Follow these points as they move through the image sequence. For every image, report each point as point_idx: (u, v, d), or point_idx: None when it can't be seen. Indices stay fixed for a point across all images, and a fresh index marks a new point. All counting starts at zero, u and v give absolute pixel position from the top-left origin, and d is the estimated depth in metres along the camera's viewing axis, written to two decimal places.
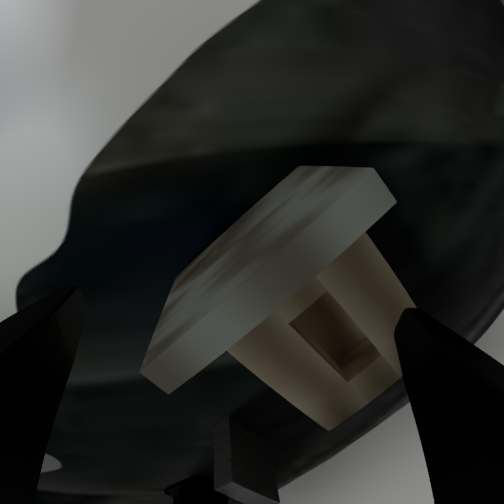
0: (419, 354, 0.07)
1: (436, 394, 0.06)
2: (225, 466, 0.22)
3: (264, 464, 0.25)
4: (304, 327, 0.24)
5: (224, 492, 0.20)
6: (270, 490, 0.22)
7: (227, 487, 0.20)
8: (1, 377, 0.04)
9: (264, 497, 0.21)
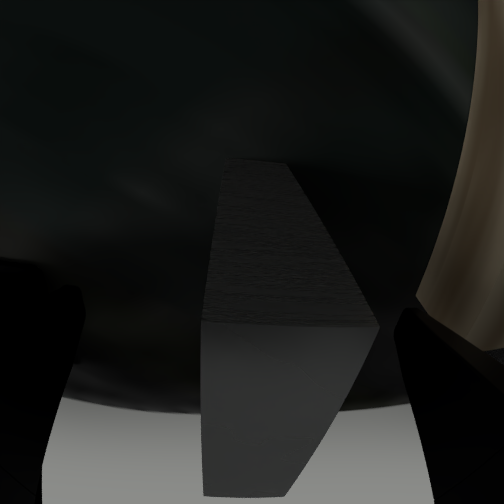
0: (419, 354, 0.07)
1: (435, 394, 0.06)
2: (299, 243, 0.05)
3: None
4: None
5: (224, 375, 0.04)
6: None
7: (294, 354, 0.04)
8: (1, 377, 0.04)
9: (295, 471, 0.05)
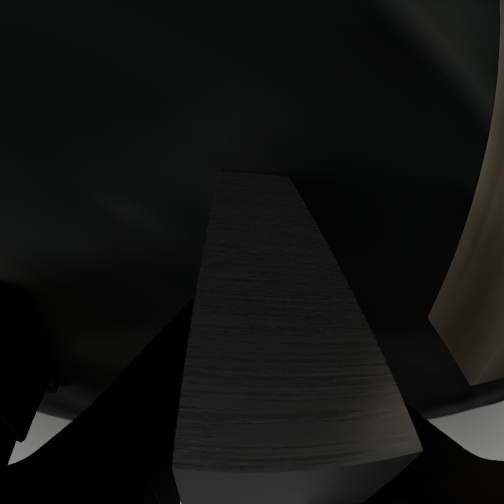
0: None
1: None
2: (312, 309, 0.04)
3: None
4: None
5: (211, 501, 0.02)
6: None
7: (306, 486, 0.02)
8: (177, 416, 0.04)
9: None
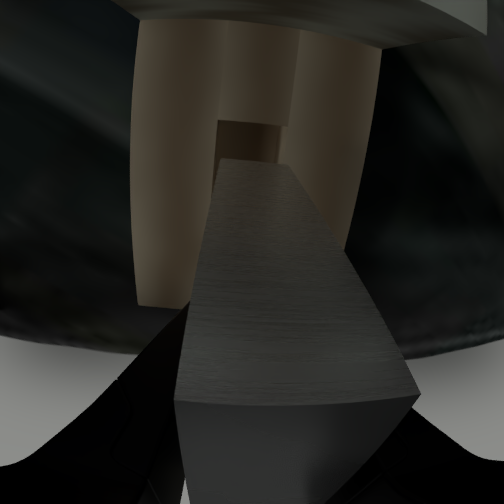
0: None
1: None
2: (309, 269, 0.04)
3: None
4: (217, 162, 0.18)
5: (212, 453, 0.02)
6: None
7: (306, 431, 0.02)
8: None
9: None
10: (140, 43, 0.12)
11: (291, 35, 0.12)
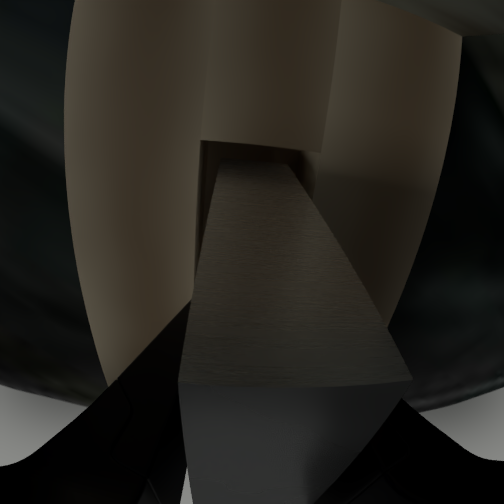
0: None
1: None
2: (307, 263, 0.04)
3: None
4: (207, 199, 0.12)
5: (212, 436, 0.03)
6: None
7: (303, 415, 0.03)
8: (177, 416, 0.04)
9: None
10: (76, 19, 0.06)
11: None
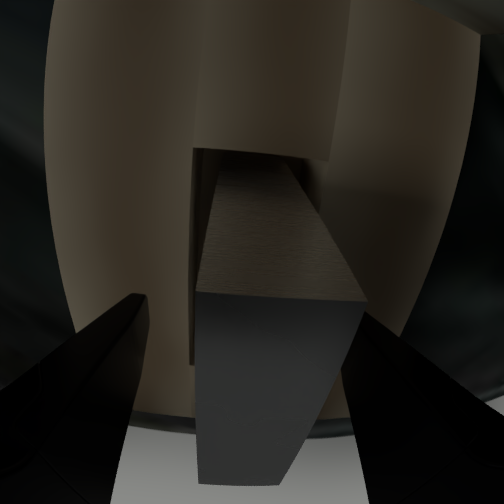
0: (355, 358, 0.07)
1: (373, 404, 0.06)
2: (291, 227, 0.05)
3: None
4: (203, 210, 0.11)
5: (217, 347, 0.04)
6: None
7: (285, 326, 0.04)
8: (87, 401, 0.04)
9: (288, 456, 0.06)
10: (56, 15, 0.05)
11: None
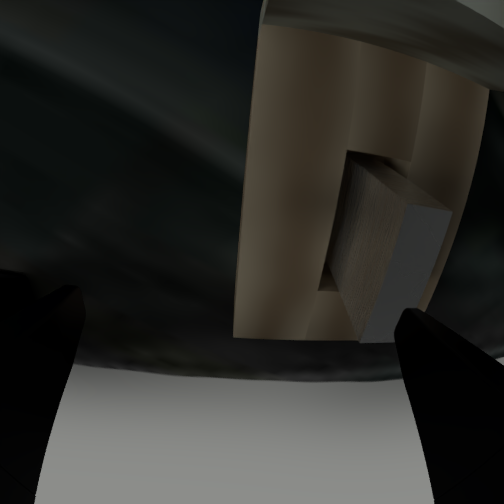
0: (419, 354, 0.07)
1: (436, 394, 0.06)
2: (413, 190, 0.11)
3: None
4: None
5: (407, 228, 0.10)
6: None
7: (429, 219, 0.10)
8: (1, 377, 0.04)
9: (414, 307, 0.11)
10: (262, 52, 0.11)
11: (418, 67, 0.11)
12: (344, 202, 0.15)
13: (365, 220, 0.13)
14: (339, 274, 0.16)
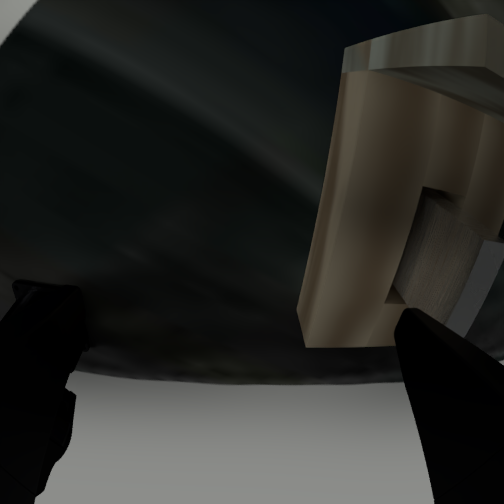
0: (419, 354, 0.07)
1: (436, 394, 0.06)
2: (478, 224, 0.13)
3: None
4: None
5: (481, 257, 0.11)
6: None
7: (494, 251, 0.11)
8: (1, 377, 0.04)
9: (474, 316, 0.13)
10: (367, 96, 0.13)
11: (479, 117, 0.13)
12: (412, 228, 0.17)
13: (438, 247, 0.14)
14: (406, 290, 0.17)
